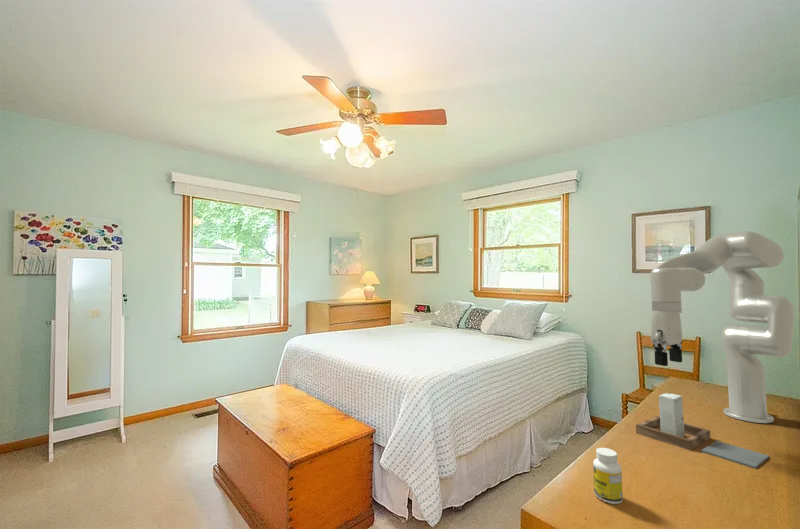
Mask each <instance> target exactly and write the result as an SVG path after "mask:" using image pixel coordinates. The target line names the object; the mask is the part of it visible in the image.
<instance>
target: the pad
mask: <svg viewBox="0 0 800 529" xmlns="http://www.w3.org/2000/svg"><path fill="white" fill-rule="evenodd" d="M701 452H702V453H704V454H707V455H711V456H714V457H717V458H721V459H723V460H727V461H730V462H733V463H737V464H739V465H742V466H746V467H749V468H753V469H754V470H755V469H757V468H759V466H761V465H762V464H763V463H764V462H766V461H767V460H768V459H770V455H769V454H764V453H761V452H758V451H755V450H751V449H747V448H744V447H741V446H736V445H733V444H730V443H726V442H722V441H720V440H715V441H714V442H713V443H710V444H709V445H707V446H705V447H704V448H702V449H701ZM765 460H766V461H765Z"/></svg>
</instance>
